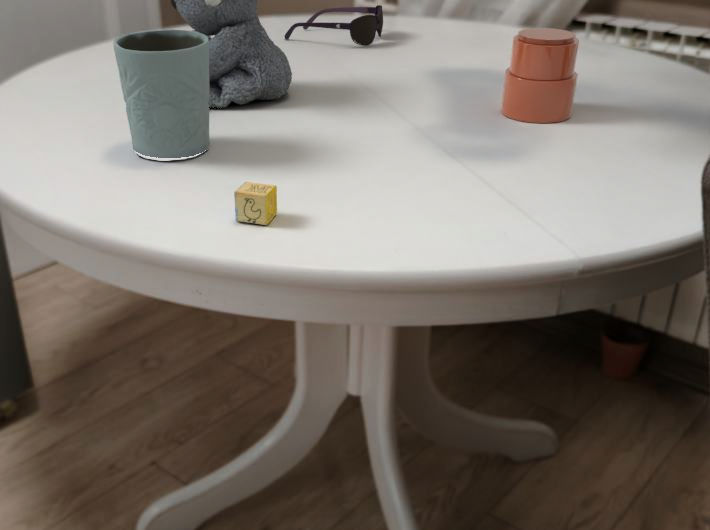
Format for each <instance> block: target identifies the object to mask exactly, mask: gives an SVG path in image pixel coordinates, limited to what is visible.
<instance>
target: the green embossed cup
mask: <svg viewBox="0 0 710 530" xmlns="http://www.w3.org/2000/svg"><path fill="white" fill-rule="evenodd" d="M112 45H113V51H114V56H115V61H116V65H117V69H118V76H119V81H120V86H121V91H122V96H123V101H124V103H125V112H126V116H127V121H128V127H129V131H130V136H131V142H132V143H131V145H132V149H133V151H134V150H135V151H136V152H138V153H140V154H142V155H145V156H150V157H156V158H157V157H158V158H181V157H189V156H194V155H196V154H199V153H202V152H204V151H205V150H207V149H208V147H209V148H210V108H209V104H208V101H209V39H208V37H207V36H206V35H204V34H201V33H199V32H197V31H196V32H195V31H191V30H188V29H187V30H186V29H172V28H171V29H169V28H168V29H166V28H164V29H162V28H161V29H147V30H139V31H133V32H129V33H124V34H122V35H119V36H117V37H116V38H115V39H114V40H113V43H112ZM208 150H209V149H208Z"/></svg>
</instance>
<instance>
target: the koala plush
mask: <svg viewBox="0 0 710 530" xmlns="http://www.w3.org/2000/svg"><path fill="white" fill-rule="evenodd" d="M169 1H170V4H171V6H172V8H173V9H174V10H176V11H177V12H178V13H179V15H180V16H181V18H182V19H183V20H184V22H185V23H187V25H188V26H189V27H190V28H191V29H192V30H190V31H195V32H199V33H201V34H204V35H206V36H207V37H208V39H209V101H208V104H209V107H210V108H211V107H212V108H213V109H215V108H214V107H217V108H218V107H223V108H227V107H228V106H229V105H230V104H231V103H232V102H233V103H235V104H236V105H239V106H243V105H245V104H249V103H250V102H253V101H255V100H259V101H260V100H261V101H267V100H271V101H272V100H276V99H279V98H281V97H282V96H283V95H284V94H286V93H287V92H288V90H289V88H290V86H291V84H292V79H293V72H292V67H291V66H290V61H289V59H288V56H287V55H286V53H285V52H284V51H283V50H282V48H280V47H279V46H278V45H276V44H275V43H274V41H273V40H272V39H271V38H270V36H269V35H268V32H267V31H266V29H265V27H264V26H263V25H262V22H261V21H260V17H259V15H258V14H257V9H258V8H257V7H258V0H169ZM212 36H213V37H212ZM242 104H243V105H242ZM218 109H219V108H218Z"/></svg>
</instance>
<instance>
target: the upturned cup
mask: <svg viewBox="0 0 710 530" xmlns="http://www.w3.org/2000/svg"><path fill="white" fill-rule="evenodd" d="M579 44H580V39H578V38H577V37H576V33H574V32H572V31H569V30H565V29H560V28H553V27H531V28H523V29H521V30H519V31H518V32H517V34H515V35H513V37H512V45H511V53H510V61H509V67H507V68H506V69H505V71H504V78H503V87H502V94H501V95H502V96H501V103H500V104H501V106H500V113H501V114H502V115H503V116H505V117H507V118H509V119H511V120H514V121H520V122H524V123H531V124H532V123H533V124H552V123H560V122H563V121H567V120H568V119H570V118H572V115H573V113H572V112H573V107H574V101H575V96H576V90H577V84H578V83H577V82H578V76H579V75H578V72H576V63H577V57H578V51H579V46H580V45H579Z"/></svg>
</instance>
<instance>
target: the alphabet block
mask: <svg viewBox="0 0 710 530" xmlns="http://www.w3.org/2000/svg"><path fill="white" fill-rule="evenodd" d="M233 193H234V195H233V197H234V213H235V215H234V216H235V221H236V222H241V223H247V224H256V225H261V226H268V225H269V224H270V223H271V222H272V221H273V220H274V218H275V217H276V216H277V215H276V214H278V187H277V185H276V184H270V183H269V184H267V183H259V182H251V181H245V182H244V183H242V184H241V185H240V186H239V187H237V189H236V190H234V192H233ZM275 215H276V216H275ZM274 216H275V217H274ZM273 217H274V218H273Z"/></svg>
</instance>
